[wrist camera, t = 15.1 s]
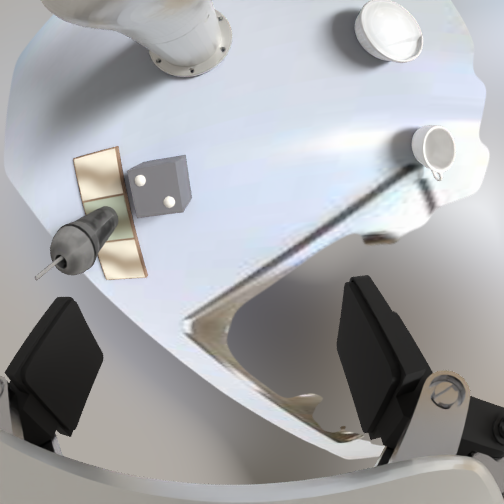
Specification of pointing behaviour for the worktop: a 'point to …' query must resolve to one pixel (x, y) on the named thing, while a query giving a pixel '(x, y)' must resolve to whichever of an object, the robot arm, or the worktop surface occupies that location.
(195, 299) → the worktop surface
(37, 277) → the beverage cup
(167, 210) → the die
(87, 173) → the game track
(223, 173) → the worktop surface
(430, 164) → the teacup
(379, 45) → the ramekin
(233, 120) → the worktop surface
